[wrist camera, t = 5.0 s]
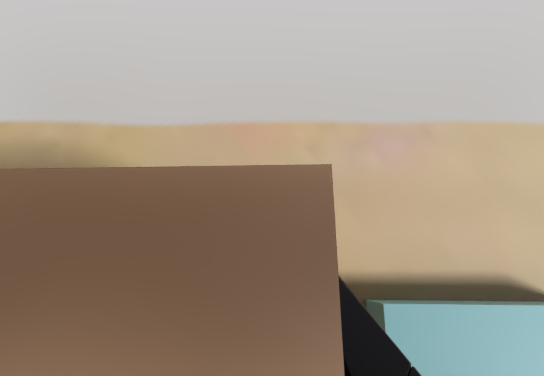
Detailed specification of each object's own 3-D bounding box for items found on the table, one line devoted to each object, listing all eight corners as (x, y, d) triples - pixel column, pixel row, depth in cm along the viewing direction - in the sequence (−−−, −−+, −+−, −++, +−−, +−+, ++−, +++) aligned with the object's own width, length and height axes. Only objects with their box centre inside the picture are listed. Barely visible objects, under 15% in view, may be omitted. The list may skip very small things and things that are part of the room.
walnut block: (297, 374, 14) (364, 704, 3) (168, 374, 14) (-195, 697, 3) (294, 243, 15) (331, 164, 5) (178, 244, 15) (-50, 169, 5)
